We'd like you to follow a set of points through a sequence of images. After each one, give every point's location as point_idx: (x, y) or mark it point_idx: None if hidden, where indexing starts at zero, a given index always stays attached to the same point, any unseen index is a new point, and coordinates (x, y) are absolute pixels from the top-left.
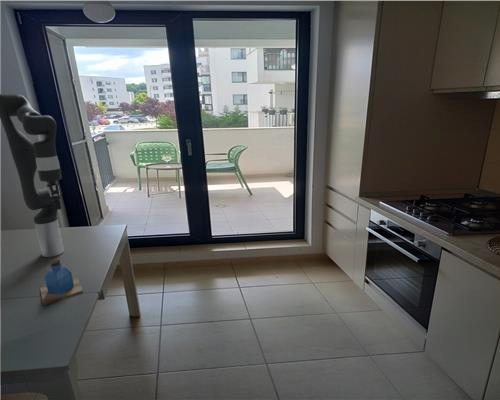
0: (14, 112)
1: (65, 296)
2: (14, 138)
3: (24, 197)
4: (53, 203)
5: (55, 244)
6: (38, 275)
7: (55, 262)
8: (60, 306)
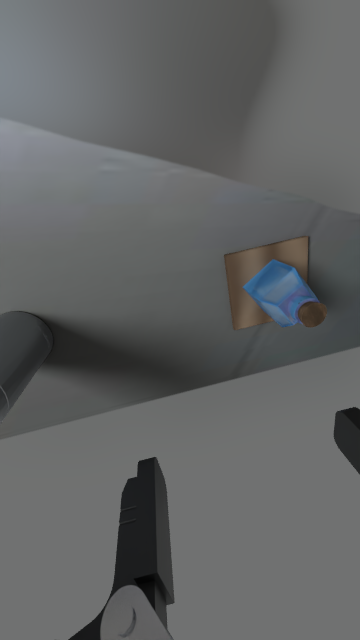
0: None
1: (306, 273)
2: None
3: None
4: (166, 495)
5: (29, 341)
6: (160, 345)
7: (321, 313)
8: (330, 278)
